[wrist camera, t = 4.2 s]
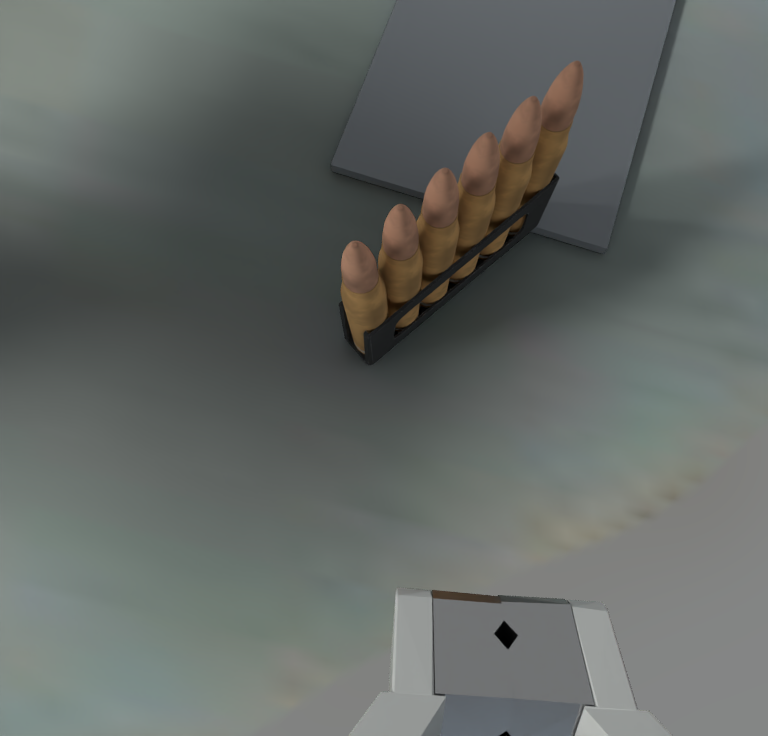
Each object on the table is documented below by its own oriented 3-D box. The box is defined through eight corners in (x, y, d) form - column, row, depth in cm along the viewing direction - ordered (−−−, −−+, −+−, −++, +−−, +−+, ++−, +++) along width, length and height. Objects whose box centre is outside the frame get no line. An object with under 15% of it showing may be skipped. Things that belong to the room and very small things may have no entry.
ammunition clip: (369, 366, 30) (350, 288, 19) (343, 337, 31) (308, 241, 19) (539, 224, 32) (622, 64, 20) (512, 196, 32) (579, 23, 20)
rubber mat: (603, 254, 32) (607, 248, 31) (331, 171, 33) (330, 164, 32) (691, -62, 36) (695, -72, 36) (450, -125, 38) (451, -136, 37)
